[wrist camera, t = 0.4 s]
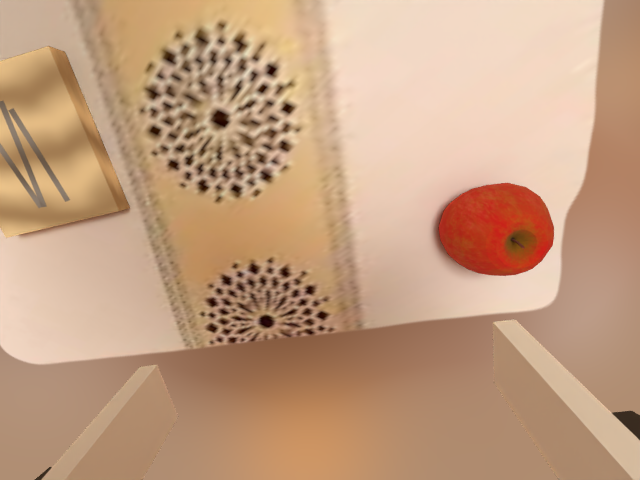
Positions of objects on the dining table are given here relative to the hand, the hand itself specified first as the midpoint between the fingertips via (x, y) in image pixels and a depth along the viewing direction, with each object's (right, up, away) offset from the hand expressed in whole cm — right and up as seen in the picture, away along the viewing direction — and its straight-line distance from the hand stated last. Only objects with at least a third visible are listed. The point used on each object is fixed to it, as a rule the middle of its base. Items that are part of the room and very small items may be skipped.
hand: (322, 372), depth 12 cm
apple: (+19, +8, +25) cm, 33 cm away
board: (-34, +16, +25) cm, 45 cm away
